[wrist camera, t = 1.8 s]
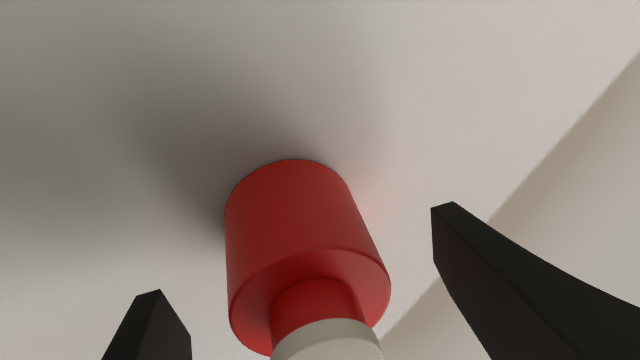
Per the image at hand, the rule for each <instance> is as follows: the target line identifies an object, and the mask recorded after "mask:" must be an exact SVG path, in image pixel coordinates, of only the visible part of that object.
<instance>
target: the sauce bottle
mask: <svg viewBox="0 0 640 360" xmlns="http://www.w3.org/2000/svg"><path fill="white" fill-rule="evenodd" d="M224 223H225V246H226V270H227V293H228V316H229V322H230V326H231V328H232V331H233V332H234V334H235V335H236V337H237V338H238V340H239V341H240V342H241V343H242V344H243V345H245V346H246V347H247V348H249V349H250V350H252V351H254V352H256V353H259V354H261V355H264V356H268V357H271V358H270V360H383V353H382V350H381V348H380V345H379V342H378V339H377V337H376V335H375V333H374V331H373V330H372V328H373V327H374V326H375V324H376V323H377V322H378V321H379V320H380V318H381V317H382V315H383V314H384V312H385V310H386V308H387V306H388V303H389V300H390V294H391V282H390V278H389V275H388V273H387V270H386V268H385V266H384V264H383V262H382V260H381V258H380V255H379V253H378V251H377V249H376V247H375V245H374V243H373V240H372V238H371V236H370V234H369V232H368V230H367V228H366V225H365V223H364V221H363V219H362V217H361V215H360V212H359V210H358V208H357V206H356V204H355V202H354V200H353V197H352V195H351V193H350V191H349V189H348V187H347V185H346V183H345V182H344V181H343V179H342V178H341V177H340V176H339V175H338V174H337V173H335V172H334V171H333V170H331V169H330V168H328V167H326V166H324V165H321V164H319V163H316V162H312V161H307V160H284V161H279V162H274V163H271V164H268V165H265V166H263V167H261V168H259V169H257V170H255V171H254V172H252V173H251V174H249V175H248V176H247V177H245V178H244V179H243V180H242V181H241V182H240V183H239V184H238V185H237V186H236V188H235V189H234V190H233V192H232V193H231V195H230V197H229V199H228V201H227V204H226V208H225V213H224Z"/></svg>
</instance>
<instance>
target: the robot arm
mask: <svg viewBox="0 0 640 360" xmlns="http://www.w3.org/2000/svg"><path fill="white" fill-rule="evenodd" d="M431 225H432V243H433V260H434V263H435V265H436V267H437V269H438V272H439V274H440V276H441V278H442V280H443V282H444V284H445V286H446V288H447V290H448V292H449V294H450V296H451V297H452V299H453V300H454V302H455V303H456V305H457V307H458V308H459V310H460V311H461V313H462V315H463V316H464V317H465V319H466V321H467V322H468V324H469V325H470V327H471V329H472V330H473V332H474V333H475V335H476V336H477V338H478V339H479V341H480V342H481V344H482V345H483V347H484V349H485V350H486V352H487V353H488V355H489V356H490V358H491V359H492V360H640V308H639V307H637V306H635V305H632V304H630V303H628V302H625V301H623V300H621V299H618V298H616V297H614V296H612V295H610V294H608V293H606V292H604V291H602V290H600V289H597V288H595V287H593V286H591V285H589V284H587V283H585V282H583V281H581V280H579V279H577V278H575V277H573V276H572V275H570V274H568V273H566V272H564V271H562V270H560V269H559V268H557V267H555V266H553V265H552V264H550V263H548V262H546V261H544V260H543V259H541V258H539V257H538V256H536V255H534V254H533V253H531V252H529V251H528V250H526V249H524V248H522V247H521V246H520V245H518V244H516V243H514V242H513V241H511V240H510V239H508V238H507V237H505V236H504V235H502V234H501V233H499V232H498V231H496V230H494V229H493V228H492V227H490V226H488V225H487V224H486V223H484V222H483V221H481V220H480V219H478V218H477V217H475V216H474V215H472V214H471V213H469V212H468V211H467V210H465V209H464V208H462V207H461V206H459V205H458V204H456V203H455V202H453V201H452V202H449V203H445V204H442V205H439V206H435V207H432V208H431ZM101 360H192V349H191V336H190V334H189V333H188V331H187V329H186V328H185V326H184V325H183V323H182V322H181V320H180V319H179V317H178V316H177V314H176V313H175V311H174V310H173V308H172V307H171V305H170V303H169V302H168V300H167V299H166V297H165V296H164V294H163V293H162V291H161V290H160V289H158V290H154V291H151V292H148V293H144V294H141V295H138V296H136V297H135V299H134V301H133V303H132V304H131V306H130V308H129V310H128V311H127V313H126V315H125V317H124V319H123V321H122V323H121V324H120V326H119V328H118V330H117V332H116V334H115V335H114V337H113V339H112V341H111V343H110V345H109V346H108V348H107V350H106V352H105V354H104V356H103V357H102V359H101Z"/></svg>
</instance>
